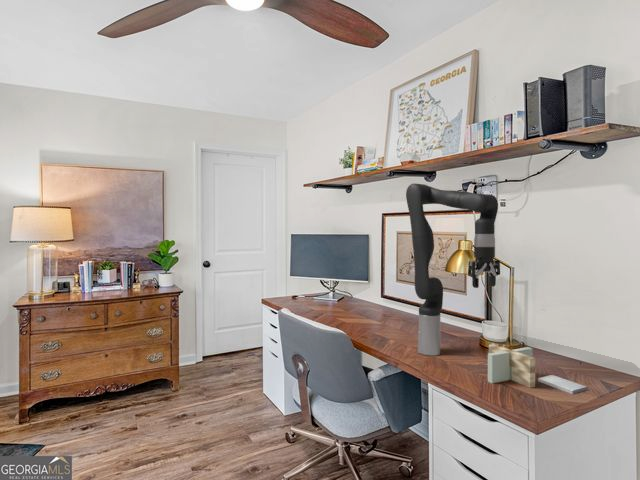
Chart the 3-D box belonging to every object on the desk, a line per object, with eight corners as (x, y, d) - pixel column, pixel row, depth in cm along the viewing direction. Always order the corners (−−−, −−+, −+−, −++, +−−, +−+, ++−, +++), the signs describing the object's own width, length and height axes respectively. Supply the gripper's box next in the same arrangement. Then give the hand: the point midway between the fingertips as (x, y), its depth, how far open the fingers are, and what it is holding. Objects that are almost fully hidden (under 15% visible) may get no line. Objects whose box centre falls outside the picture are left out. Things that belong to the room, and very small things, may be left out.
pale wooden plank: (535, 386, 135) (535, 358, 135) (529, 387, 134) (530, 358, 134) (493, 369, 152) (493, 344, 151) (488, 370, 151) (488, 344, 150)
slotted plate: (492, 383, 138) (492, 355, 138) (487, 381, 140) (487, 353, 140) (532, 375, 146) (532, 348, 146) (527, 373, 148) (527, 347, 147)
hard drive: (587, 386, 133) (552, 374, 144) (572, 390, 129) (537, 377, 140) (587, 391, 133) (552, 378, 144) (572, 395, 129) (537, 382, 140)
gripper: (490, 244, 159) (490, 284, 159) (463, 245, 153) (462, 286, 154) (505, 245, 152) (505, 287, 152) (477, 246, 146) (477, 289, 147)
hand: (484, 286), depth 153 cm, fingers open, 8 cm apart
